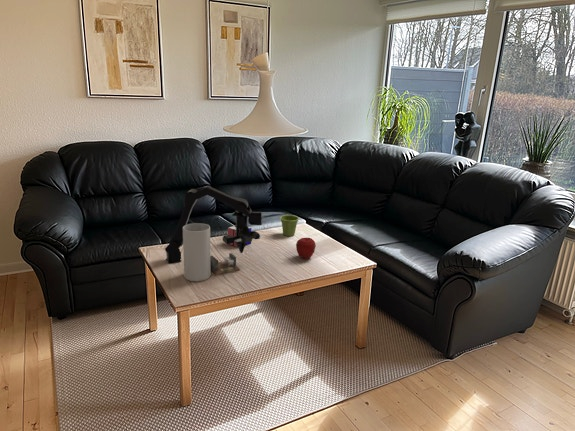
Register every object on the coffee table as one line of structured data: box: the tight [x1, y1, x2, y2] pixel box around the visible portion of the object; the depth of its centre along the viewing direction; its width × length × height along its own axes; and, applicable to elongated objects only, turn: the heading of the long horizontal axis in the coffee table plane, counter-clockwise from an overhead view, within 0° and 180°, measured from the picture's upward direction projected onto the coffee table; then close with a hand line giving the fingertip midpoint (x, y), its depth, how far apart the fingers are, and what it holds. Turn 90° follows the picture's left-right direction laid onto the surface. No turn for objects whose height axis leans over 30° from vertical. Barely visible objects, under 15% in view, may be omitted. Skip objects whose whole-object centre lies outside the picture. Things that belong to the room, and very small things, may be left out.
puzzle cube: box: [227, 225, 252, 248], centre depth 249 cm, size 10×10×10 cm
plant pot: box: [279, 214, 300, 237], centre depth 268 cm, size 12×12×11 cm
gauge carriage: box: [223, 252, 237, 269], centre depth 216 cm, size 4×10×4 cm, turn 32°
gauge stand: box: [210, 254, 240, 277], centre depth 214 cm, size 13×12×6 cm
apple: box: [295, 237, 316, 260], centre depth 233 cm, size 11×11×12 cm
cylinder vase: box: [182, 222, 212, 282], centre depth 202 cm, size 12×12×25 cm
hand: (241, 252), depth 220 cm, fingers closed
